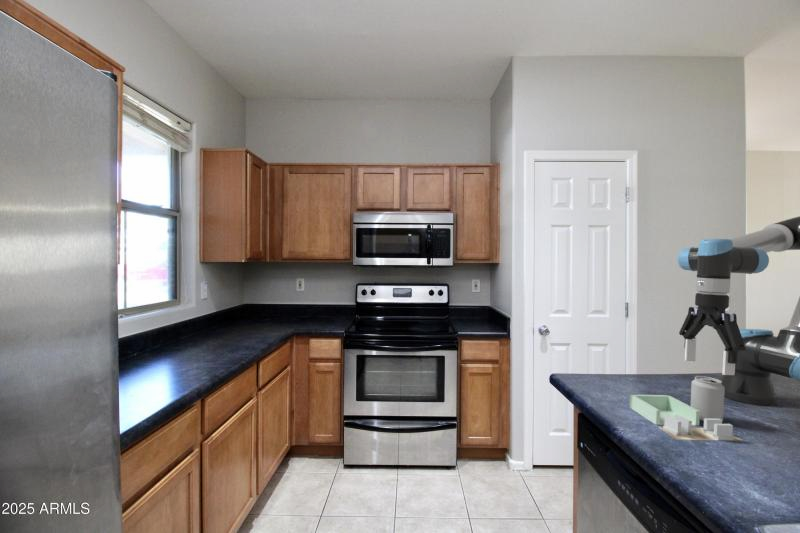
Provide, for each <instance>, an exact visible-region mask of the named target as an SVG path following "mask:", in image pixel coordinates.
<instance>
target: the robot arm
mask: <svg viewBox="0 0 800 533" xmlns="http://www.w3.org/2000/svg"><path fill="white" fill-rule="evenodd" d="M799 250H800V215H799V216H795V217H792V218H788V219H785V220H784V219H783V220H781V221H779V222H774V223H772V224H769V225H766V226H764V227H763V229H760V230H758V231H754V232H750V233H748V234H743V235H740V236H736V237H733V238H729V239H728V238H705V239H701V240H700V241H699V243H698V246H697V247H695V246H694V247H693V246H691V247H686V248H683V249H682V250H680V252H679V253H678V256H677V263H678V265H679V268H680V269H682V270H684V271H692V272H696V284H695V291H697V293H695V299H694V300H695V301H694V305H695V306H696V307H695V306H689V307H688V310H687V315H686V317H685V319H684V322H683V324H682V326H681V327H680V330H679V332H678V333H679V334H678V335H680V336H682V337H683V339H684V345H683V346H684V347H683V348H684V360H683V361H685V362H695V361H696V351H697V337H696V336H697V335H698V334H699V333H700V332H701V331H702V330H703V328H704V327H705V326H708V327H711V328H712V329H714V330H715V331H716V333H717V335H718V337H719V338H720V340H721V342H722V343H723V345H724V348H725V349H723V356H722V371H721V372H722V373H721V374H722V375H721V378H720V379H719V380H720V381H722V383H721V384H722V385H723V386H724V387H725V392H724V398H728V399H730V400H733V401H738V402H741V403H746V404H751V405H759V406H774V405H777V402H778V395H777V394H776V392H775V389H774V384H773V382H772V379H771V378H772V377H771V375H772V374H774V375H778V376H781V377H784V378H789V379H792V380H795V381H796V382H800V296H799V298H798V300H797V303H796V305H795V308H794V311H793V313H792V317H791V319H790V322H789V324H788V326H786V327H783V328H780V330H779V332H778V334H777V336H774V335H775V333H773V330H769V329H760V328H759V329H757V328H739V325H738V323H737V322H738V320H737V314H736V313H726V310H727V309H728V308H729V307H730V295H729V294H730V292H731V275H732V274H745V275H746V274H749V275H751V274H759V273H761V272H763V271H765V270H766V269H767V268H768V267H769V263H770V257H769V255H768V253H771V252H774V253H776V252H777V253H779V252H780V253H782V252H785V251H799Z"/></svg>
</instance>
